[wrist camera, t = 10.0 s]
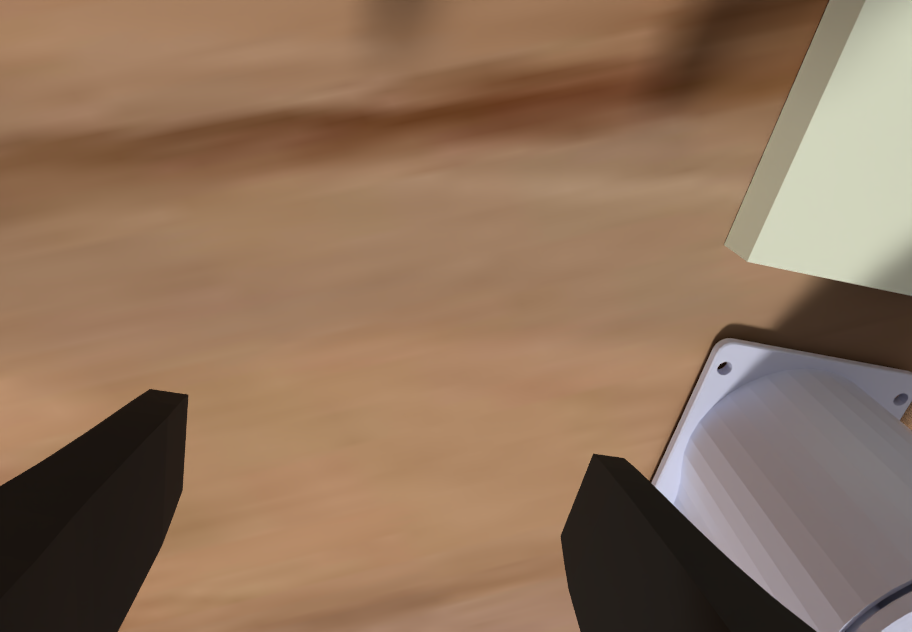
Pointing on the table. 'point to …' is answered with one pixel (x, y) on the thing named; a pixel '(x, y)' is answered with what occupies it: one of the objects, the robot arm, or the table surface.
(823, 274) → the board
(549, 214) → the table surface
